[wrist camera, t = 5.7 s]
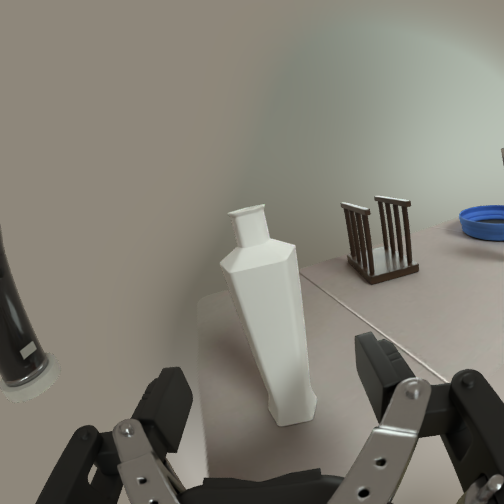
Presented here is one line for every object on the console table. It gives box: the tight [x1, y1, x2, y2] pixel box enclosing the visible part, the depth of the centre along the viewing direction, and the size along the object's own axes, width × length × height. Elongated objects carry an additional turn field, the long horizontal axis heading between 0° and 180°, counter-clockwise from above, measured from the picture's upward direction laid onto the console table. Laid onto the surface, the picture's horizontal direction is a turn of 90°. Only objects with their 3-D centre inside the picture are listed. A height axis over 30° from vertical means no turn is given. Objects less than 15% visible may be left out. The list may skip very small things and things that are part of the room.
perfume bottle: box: [220, 205, 317, 426], centre depth 17 cm, size 5×4×15 cm
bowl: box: [459, 205, 504, 241], centre depth 39 cm, size 18×18×4 cm
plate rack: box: [341, 196, 419, 285], centre depth 40 cm, size 12×8×10 cm, turn 177°
